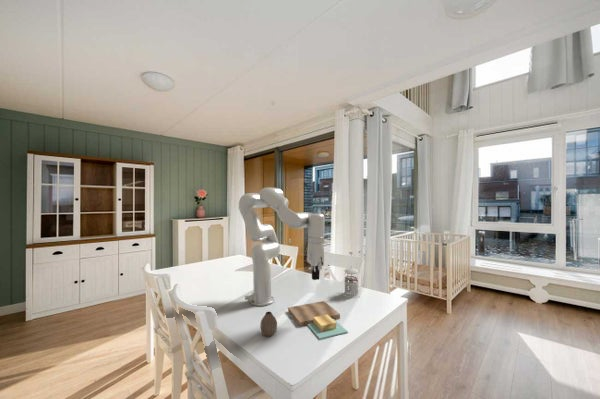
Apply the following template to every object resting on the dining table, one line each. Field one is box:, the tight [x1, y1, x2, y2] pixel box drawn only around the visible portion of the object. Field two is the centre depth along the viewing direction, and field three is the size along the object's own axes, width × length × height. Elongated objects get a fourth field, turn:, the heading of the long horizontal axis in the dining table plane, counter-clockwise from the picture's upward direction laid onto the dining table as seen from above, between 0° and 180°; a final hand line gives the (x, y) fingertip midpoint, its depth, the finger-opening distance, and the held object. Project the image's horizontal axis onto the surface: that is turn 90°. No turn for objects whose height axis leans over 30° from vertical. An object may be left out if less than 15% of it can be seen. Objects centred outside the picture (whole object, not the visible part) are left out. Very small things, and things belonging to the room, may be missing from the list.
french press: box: [342, 251, 361, 299], centre depth 144 cm, size 10×12×25 cm
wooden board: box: [287, 300, 341, 328], centre depth 119 cm, size 20×16×2 cm
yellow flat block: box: [313, 315, 336, 332], centre depth 107 cm, size 7×8×2 cm
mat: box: [307, 319, 349, 341], centre depth 106 cm, size 13×12×1 cm
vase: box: [259, 311, 278, 337], centre depth 102 cm, size 7×7×9 cm
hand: (315, 279), depth 116 cm, fingers closed
